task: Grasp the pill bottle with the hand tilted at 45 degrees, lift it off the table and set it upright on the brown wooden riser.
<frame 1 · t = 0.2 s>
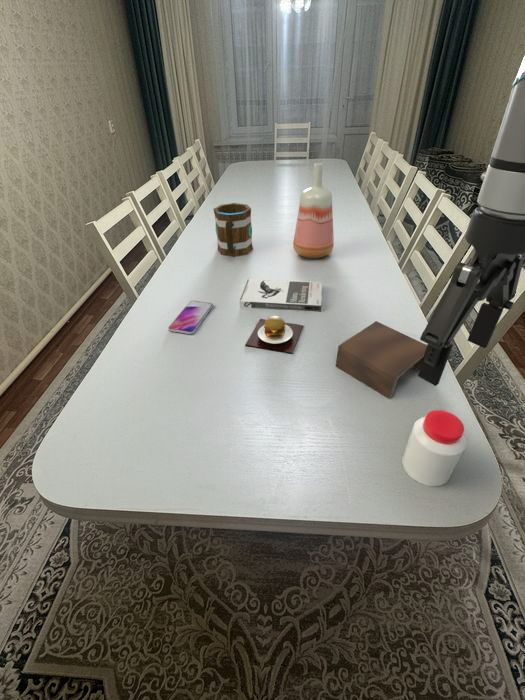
hand: (453, 360, 52), 20 cm above the table, tool pointing down, fingers open, 13 cm apart
brown wooden riser: (379, 367, 81), on the table
mug: (234, 253, 134), on the table
hamburger: (275, 336, 92), on the table
book: (282, 297, 107), on the table
vase: (312, 253, 131), on the table
pill bottle: (425, 466, 61), on the table
smartphone: (192, 318, 99), on the table
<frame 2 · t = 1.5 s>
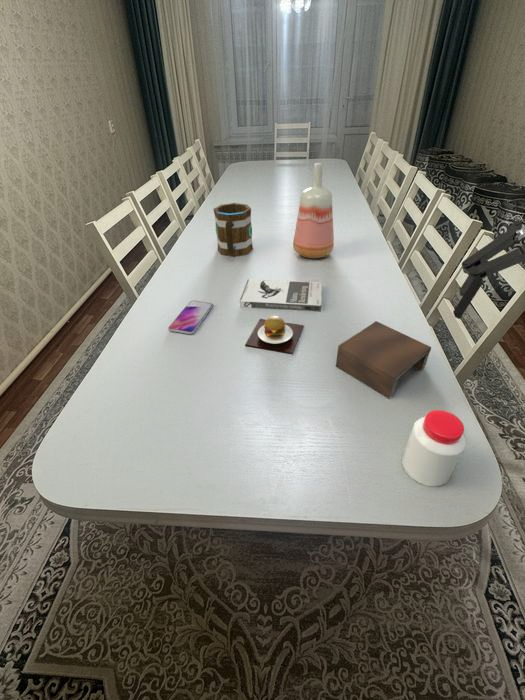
hand: (501, 334, 53), 22 cm above the table, tool tilted 45°, fingers open, 13 cm apart
nothing on the table moved.
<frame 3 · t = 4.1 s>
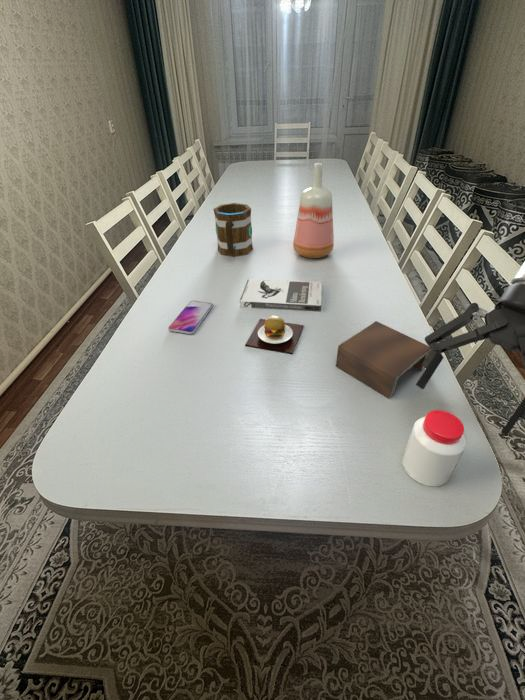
hand: (458, 409, 57), 10 cm above the table, tool tilted 45°, fingers open, 13 cm apart
nothing on the table moved.
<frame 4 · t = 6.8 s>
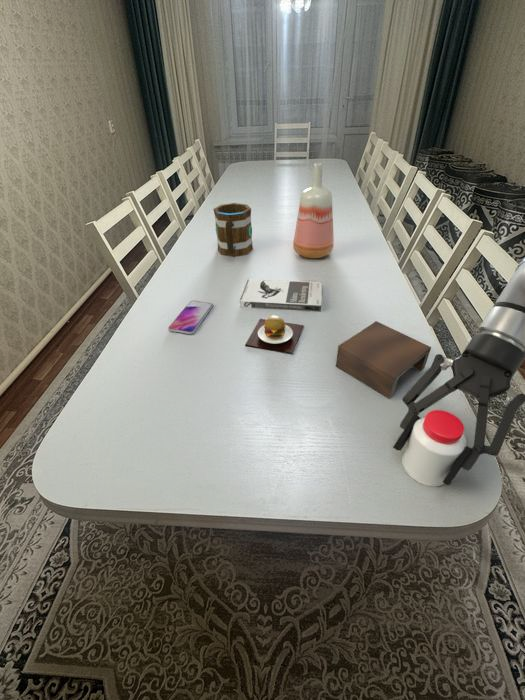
hand: (420, 465, 57), 4 cm above the table, tool tilted 45°, fingers closed on pill bottle, 8 cm apart
pill bottle: (425, 466, 61), on the table, touching gripper
everything else where it was.
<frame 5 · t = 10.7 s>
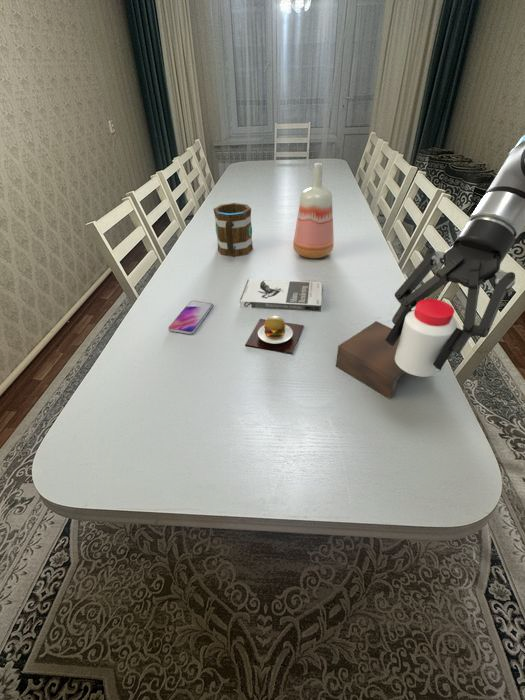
hand: (412, 354, 58), 17 cm above the table, tool tilted 45°, fingers closed on pill bottle, 8 cm apart
pill bottle: (417, 362, 62), point 13 cm above the table, touching gripper
everything else where it was.
when the fingers open (10 cm above the table, at t = 15.1 s): pill bottle stays where it is, resting on brown wooden riser.
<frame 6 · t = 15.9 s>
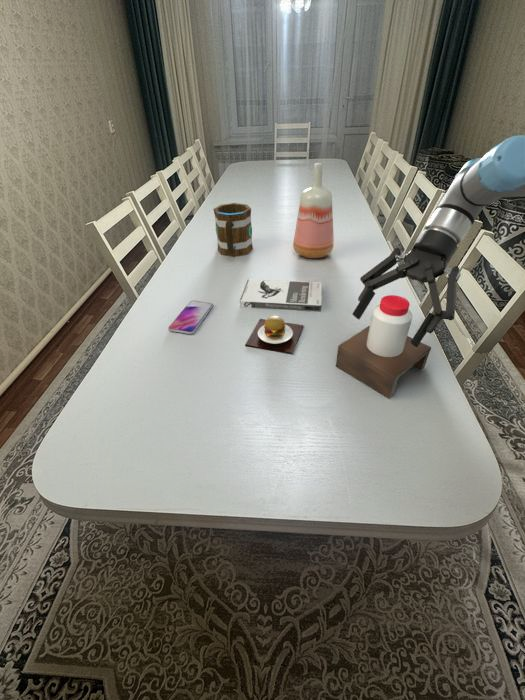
hand: (383, 330, 73), 11 cm above the table, tool tilted 45°, fingers open, 13 cm apart
pill bottle: (384, 346, 78), point 6 cm above the table, touching brown wooden riser
everything else where it was.
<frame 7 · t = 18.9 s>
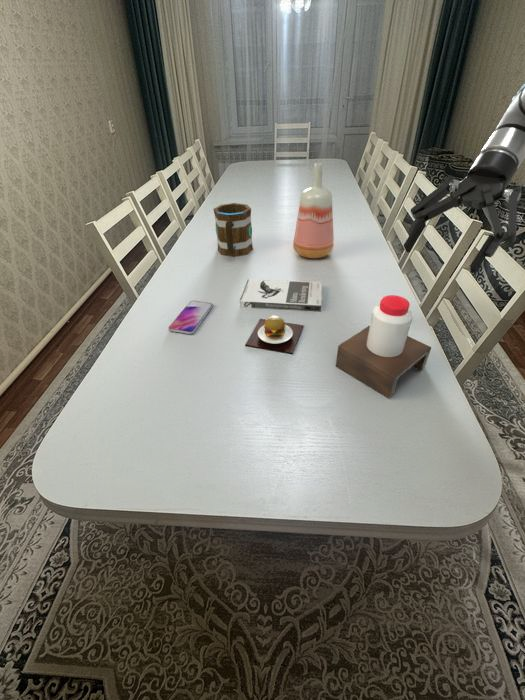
hand: (437, 259, 71), 23 cm above the table, tool tilted 45°, fingers open, 13 cm apart
nothing on the table moved.
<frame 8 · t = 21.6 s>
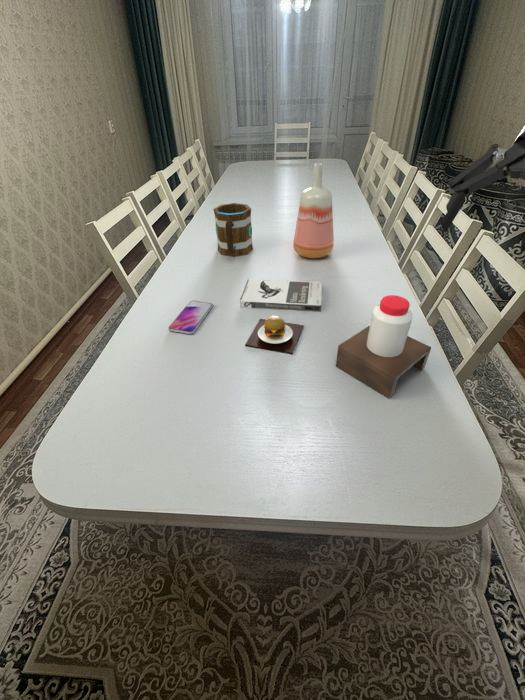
hand: (480, 236, 63), 30 cm above the table, tool tilted 45°, fingers open, 13 cm apart
nothing on the table moved.
at the end: pill bottle inside the target area on the brown wooden riser (0.1 cm from its centre), point 5.8 cm above the brown wooden riser's base; pill bottle tilted 0°; the gripper is holding nothing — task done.
